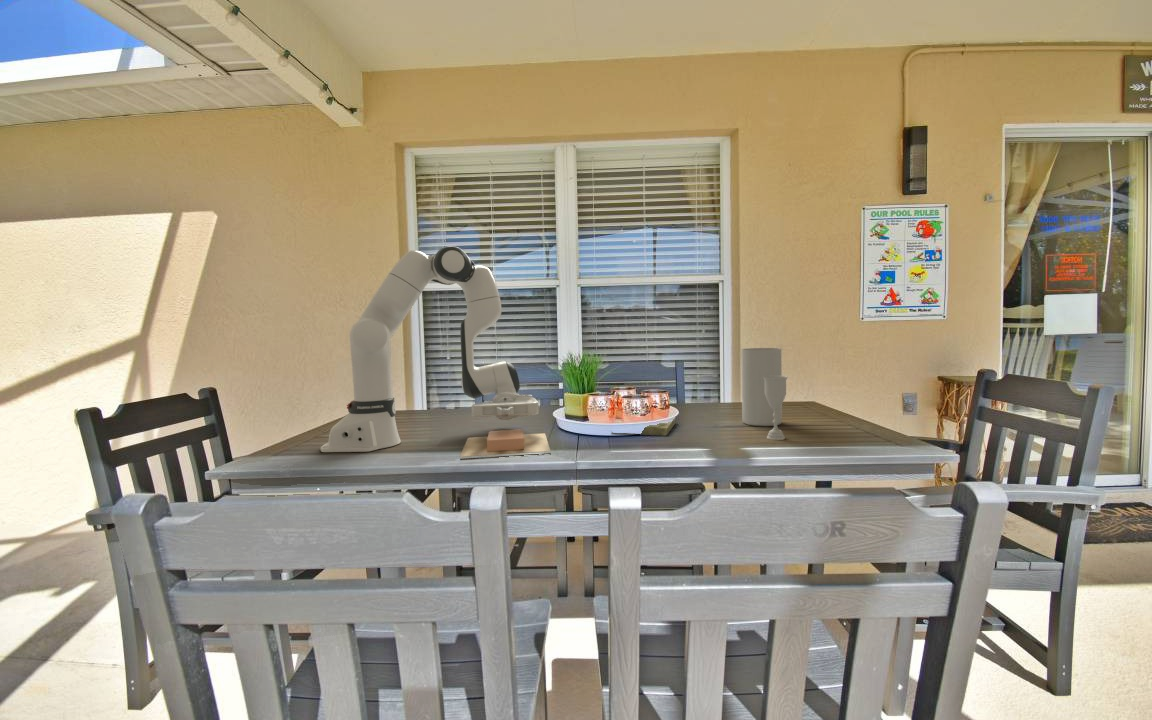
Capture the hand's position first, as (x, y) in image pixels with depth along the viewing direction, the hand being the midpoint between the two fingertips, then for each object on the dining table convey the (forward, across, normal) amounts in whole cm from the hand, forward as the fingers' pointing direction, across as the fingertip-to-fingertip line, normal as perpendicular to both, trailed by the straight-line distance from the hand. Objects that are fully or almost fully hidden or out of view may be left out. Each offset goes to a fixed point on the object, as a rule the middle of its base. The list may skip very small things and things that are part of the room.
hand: (505, 412), depth 148 cm
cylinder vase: (-12, +85, +10) cm, 86 cm away
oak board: (+1, 0, +10) cm, 10 cm away
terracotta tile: (-3, 0, +7) cm, 8 cm away
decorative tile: (-15, +45, +11) cm, 49 cm away
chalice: (+10, +78, +10) cm, 79 cm away
